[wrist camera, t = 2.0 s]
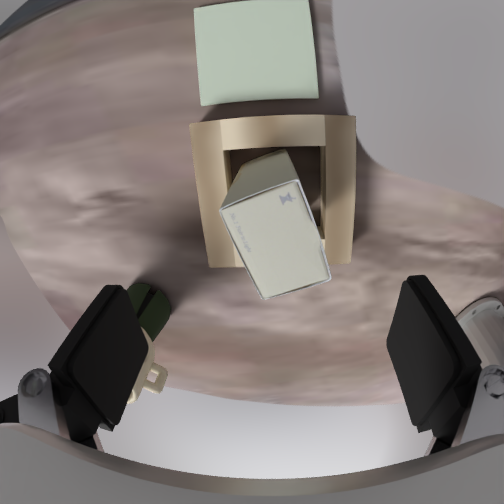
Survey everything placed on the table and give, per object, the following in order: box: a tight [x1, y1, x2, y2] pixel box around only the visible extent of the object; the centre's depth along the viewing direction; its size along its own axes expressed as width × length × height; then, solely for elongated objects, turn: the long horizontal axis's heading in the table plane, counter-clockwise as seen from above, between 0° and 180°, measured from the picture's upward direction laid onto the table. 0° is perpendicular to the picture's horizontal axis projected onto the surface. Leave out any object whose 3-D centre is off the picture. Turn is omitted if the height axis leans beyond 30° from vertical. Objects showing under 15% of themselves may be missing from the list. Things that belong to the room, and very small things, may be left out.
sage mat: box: [194, 0, 319, 106], centre depth 19 cm, size 10×10×1 cm
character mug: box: [127, 283, 171, 404], centre depth 27 cm, size 11×7×13 cm, turn 60°
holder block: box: [189, 115, 356, 268], centre depth 24 cm, size 13×13×3 cm
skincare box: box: [219, 148, 331, 300], centre depth 20 cm, size 6×4×12 cm
